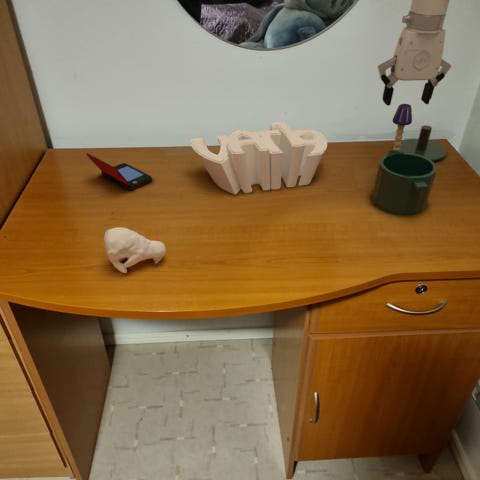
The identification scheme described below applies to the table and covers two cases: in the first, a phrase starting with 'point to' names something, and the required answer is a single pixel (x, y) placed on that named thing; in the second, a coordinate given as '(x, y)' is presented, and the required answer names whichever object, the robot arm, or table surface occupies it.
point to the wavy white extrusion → (263, 158)
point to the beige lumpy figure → (131, 248)
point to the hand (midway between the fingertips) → (405, 102)
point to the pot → (403, 183)
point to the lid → (423, 145)
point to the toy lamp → (401, 122)
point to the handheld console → (122, 173)
